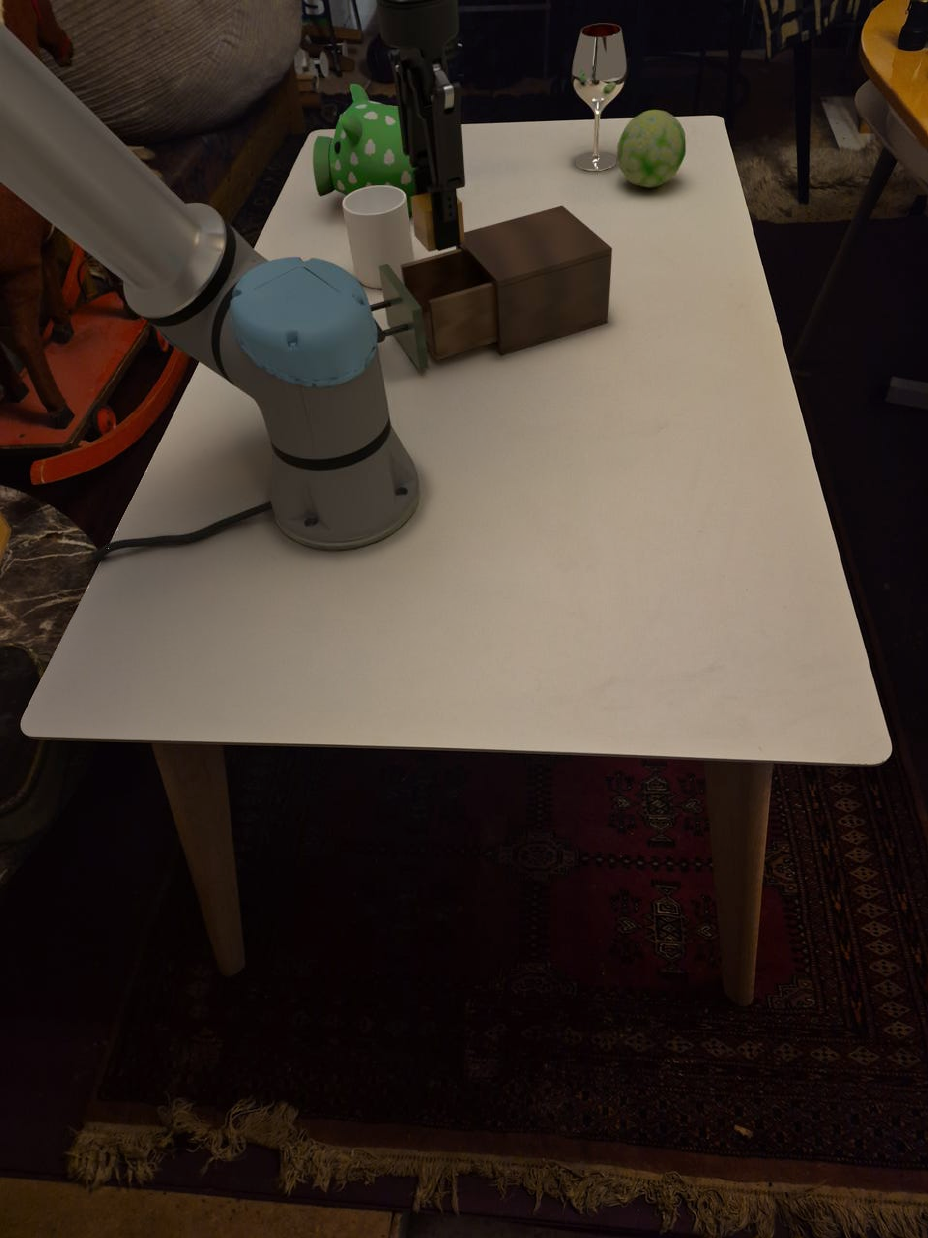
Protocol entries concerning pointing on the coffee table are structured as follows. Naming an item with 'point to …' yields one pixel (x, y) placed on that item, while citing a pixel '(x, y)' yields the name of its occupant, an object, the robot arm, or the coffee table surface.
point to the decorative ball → (651, 148)
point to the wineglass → (599, 80)
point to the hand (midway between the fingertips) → (439, 236)
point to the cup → (378, 231)
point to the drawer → (438, 306)
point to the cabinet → (543, 276)
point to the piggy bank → (363, 150)
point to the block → (429, 220)
